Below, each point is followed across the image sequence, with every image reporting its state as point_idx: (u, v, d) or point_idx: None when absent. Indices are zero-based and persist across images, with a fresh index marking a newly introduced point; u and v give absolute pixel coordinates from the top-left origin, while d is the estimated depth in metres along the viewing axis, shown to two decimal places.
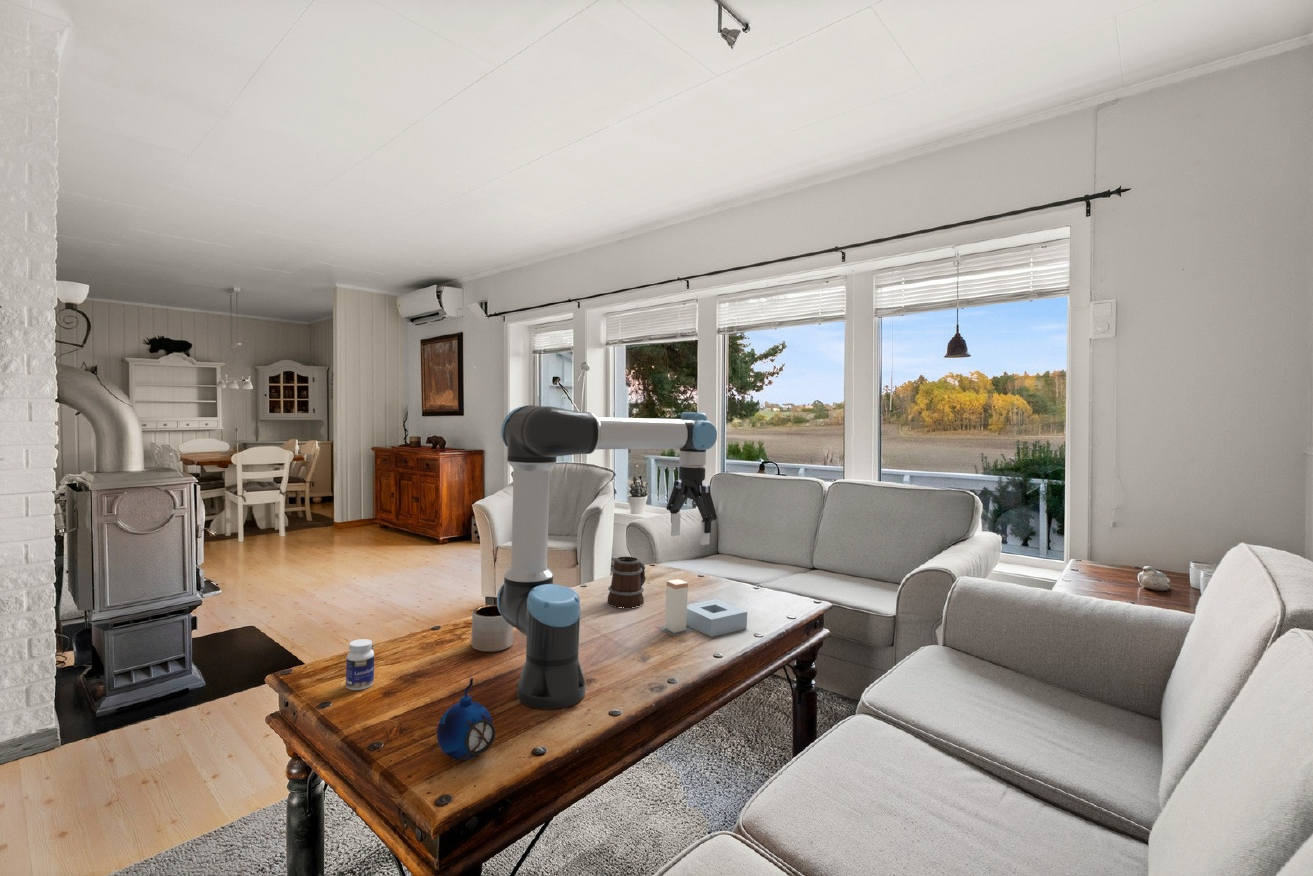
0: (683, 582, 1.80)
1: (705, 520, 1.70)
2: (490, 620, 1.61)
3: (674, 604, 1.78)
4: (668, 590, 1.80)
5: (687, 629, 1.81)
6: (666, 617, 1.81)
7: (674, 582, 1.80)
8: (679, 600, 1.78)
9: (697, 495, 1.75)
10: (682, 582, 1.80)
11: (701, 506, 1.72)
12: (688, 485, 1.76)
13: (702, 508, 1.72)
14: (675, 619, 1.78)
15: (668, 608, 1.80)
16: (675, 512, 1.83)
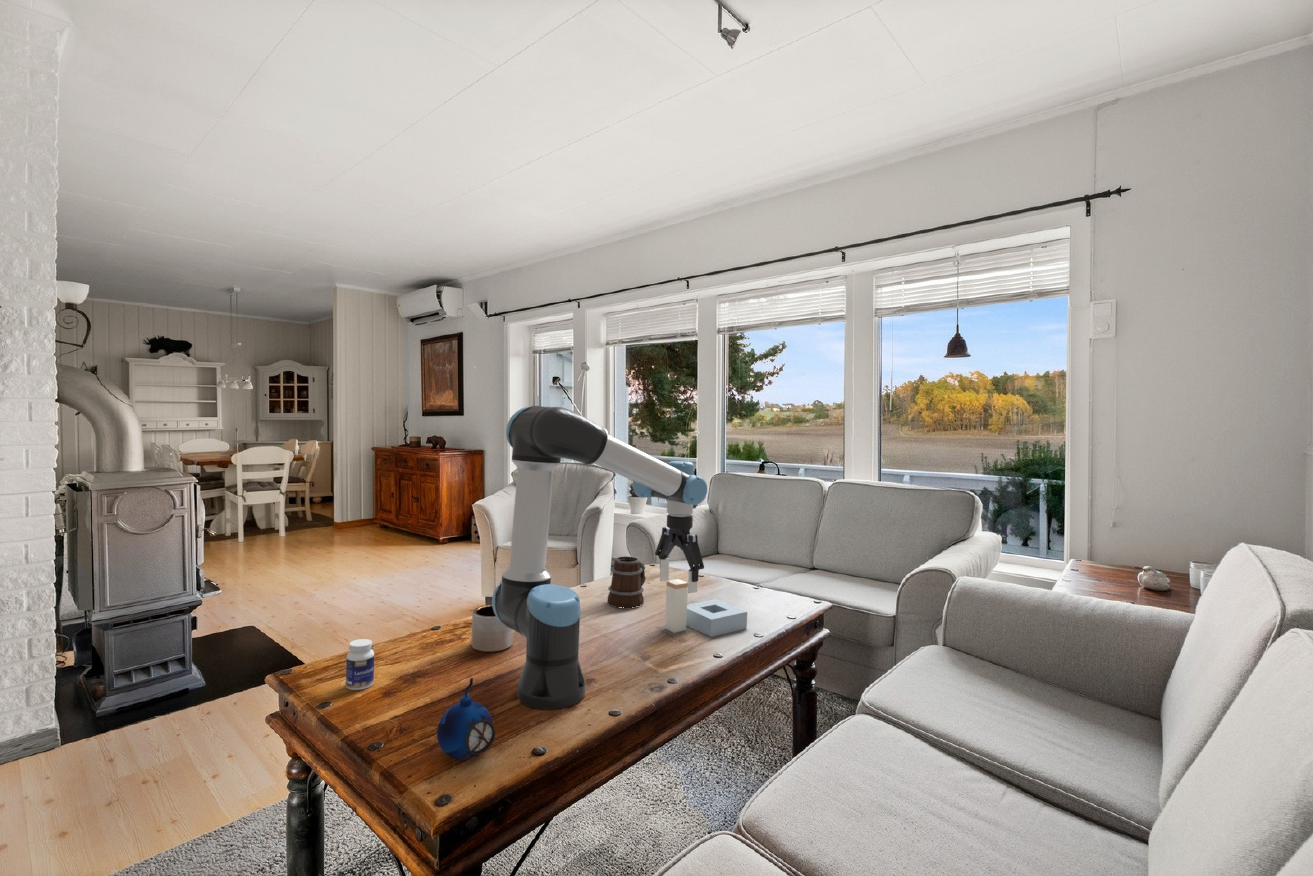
0: (683, 582, 1.80)
1: (692, 569, 1.73)
2: (490, 620, 1.61)
3: (674, 604, 1.78)
4: (668, 590, 1.80)
5: (687, 629, 1.81)
6: (666, 617, 1.81)
7: (674, 582, 1.80)
8: (679, 600, 1.78)
9: (685, 543, 1.78)
10: (682, 582, 1.80)
11: (688, 555, 1.75)
12: (676, 533, 1.79)
13: (689, 557, 1.75)
14: (675, 619, 1.78)
15: (668, 608, 1.80)
16: (664, 558, 1.86)
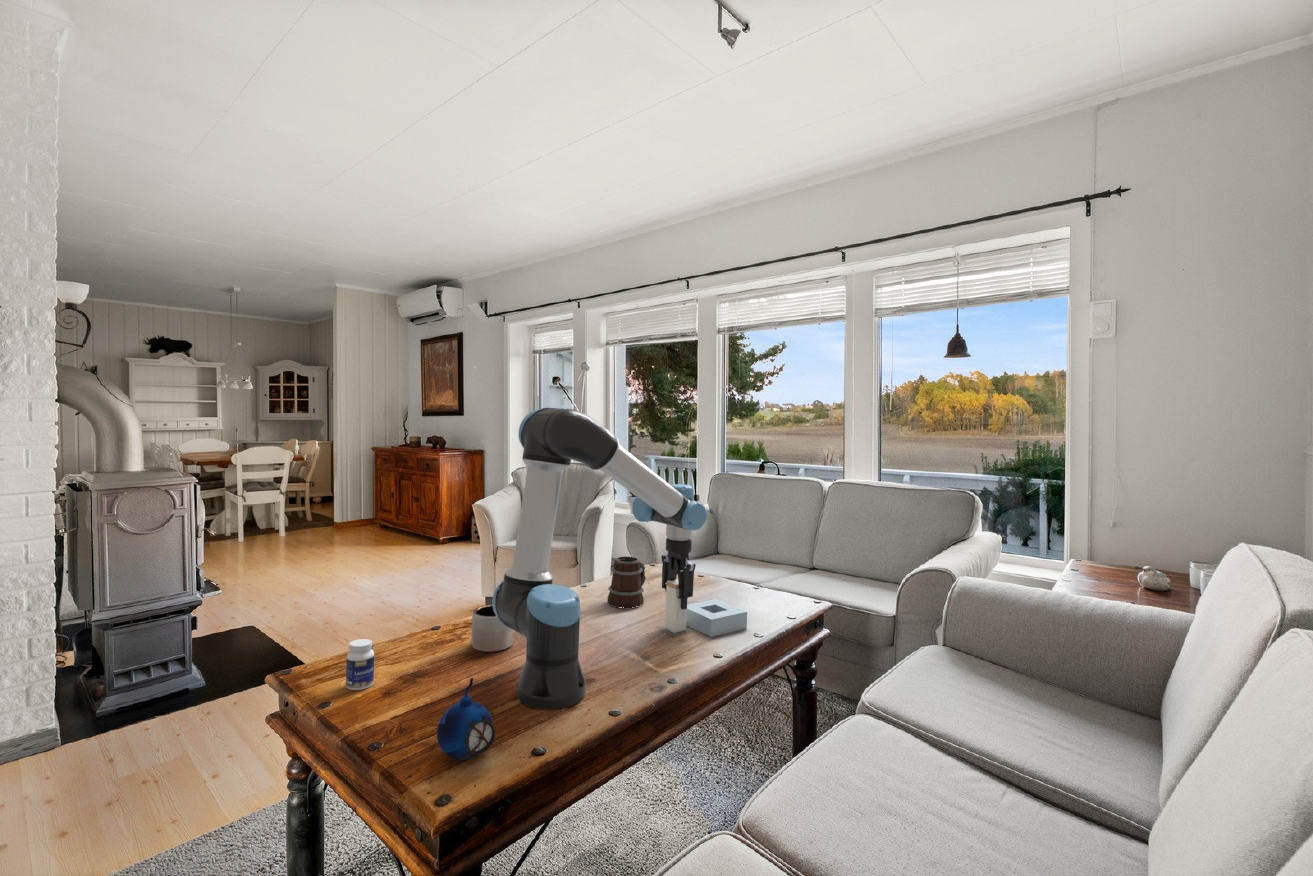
0: None
1: (681, 598, 1.77)
2: (490, 620, 1.61)
3: (674, 604, 1.78)
4: (668, 590, 1.80)
5: (687, 629, 1.81)
6: (666, 617, 1.81)
7: (674, 582, 1.80)
8: None
9: None
10: None
11: (682, 582, 1.77)
12: (675, 556, 1.79)
13: (682, 584, 1.77)
14: (675, 619, 1.78)
15: (668, 608, 1.80)
16: None
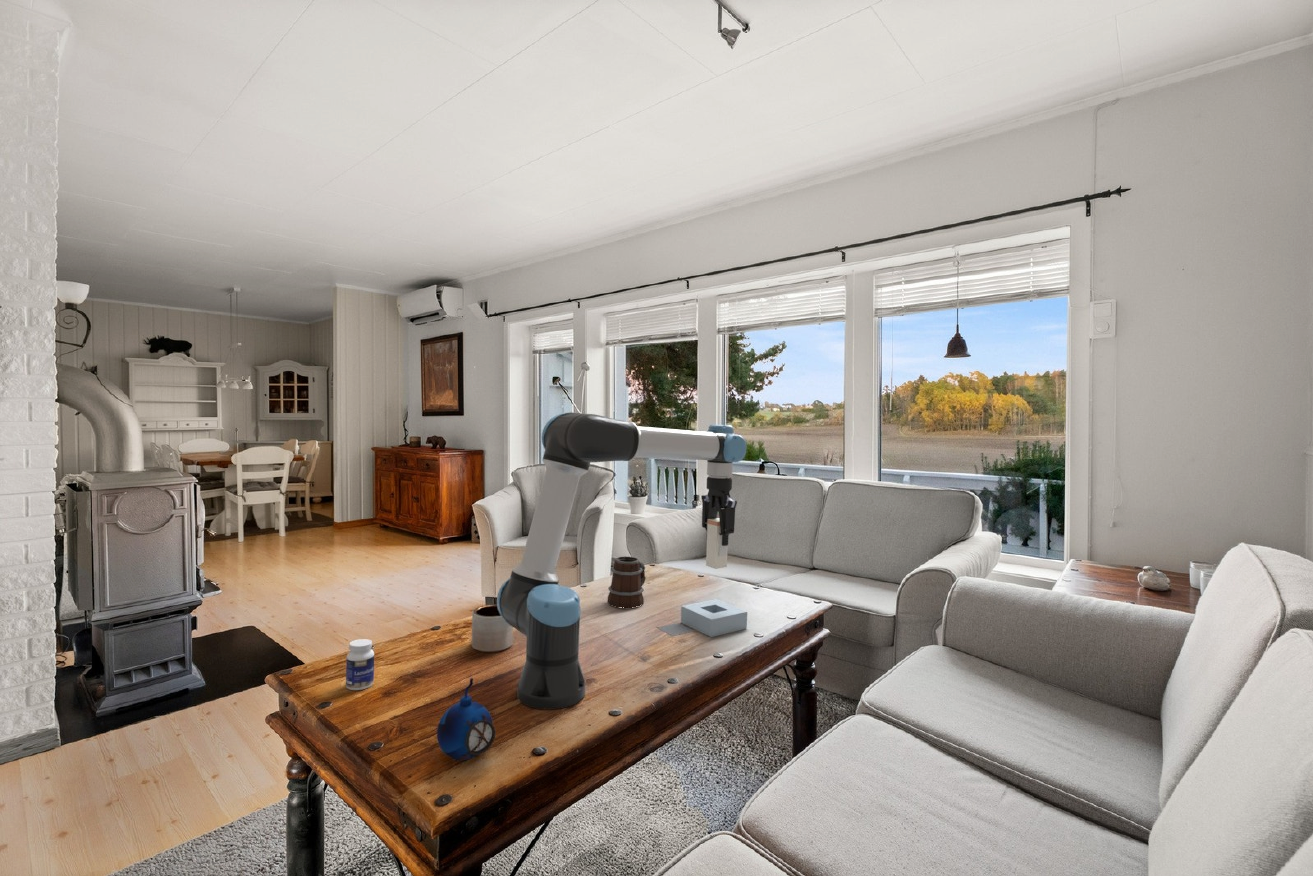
0: None
1: (722, 534, 1.80)
2: (490, 620, 1.61)
3: (715, 541, 1.82)
4: (709, 528, 1.84)
5: (687, 629, 1.81)
6: (707, 554, 1.85)
7: (715, 520, 1.83)
8: None
9: None
10: None
11: (723, 519, 1.81)
12: (715, 495, 1.83)
13: (723, 521, 1.81)
14: (717, 555, 1.82)
15: (709, 545, 1.84)
16: None
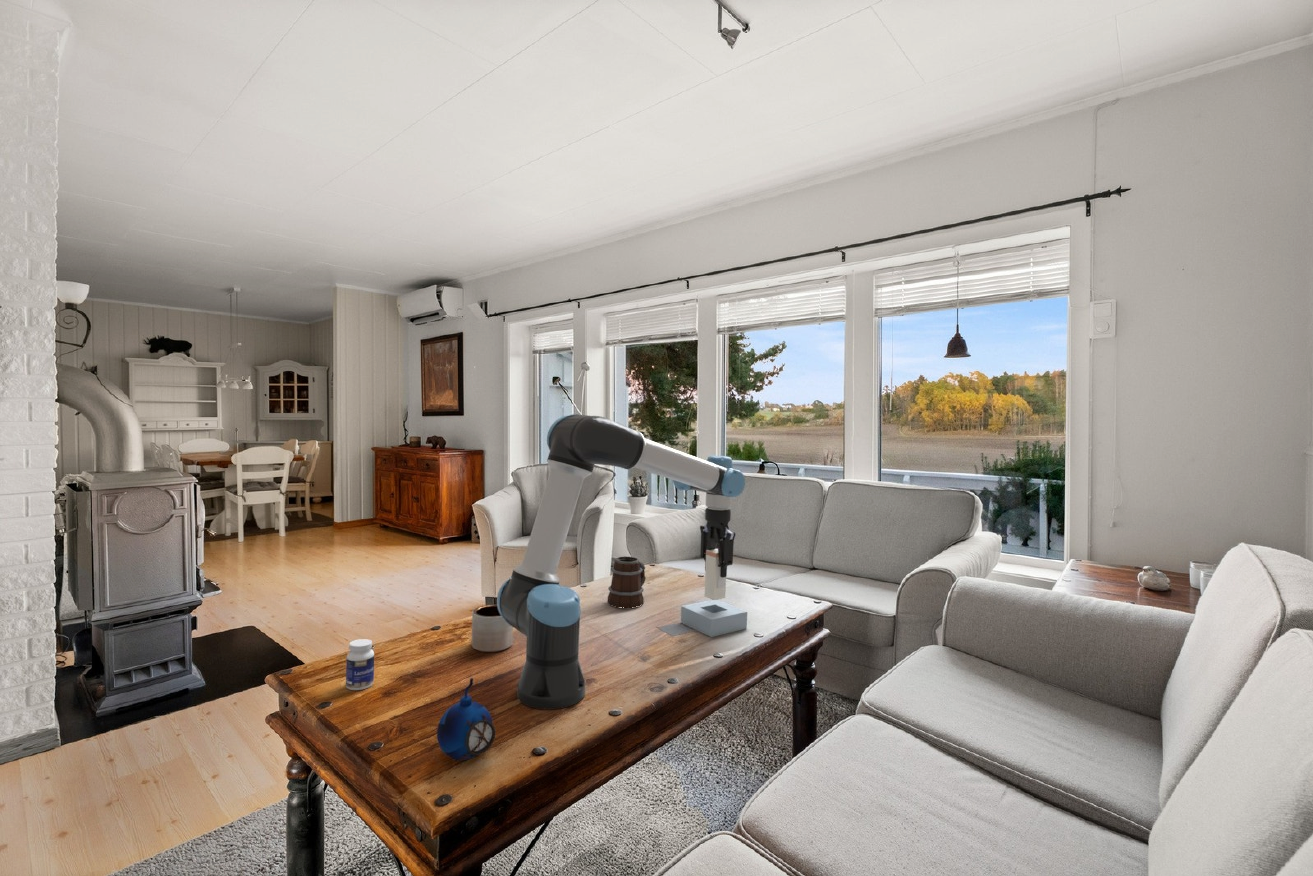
0: None
1: (721, 566, 1.81)
2: (490, 620, 1.61)
3: (714, 572, 1.82)
4: (708, 559, 1.84)
5: (687, 629, 1.81)
6: (706, 585, 1.85)
7: (714, 551, 1.84)
8: None
9: None
10: None
11: (721, 551, 1.81)
12: (714, 526, 1.84)
13: (722, 553, 1.81)
14: (715, 586, 1.82)
15: (707, 576, 1.85)
16: None
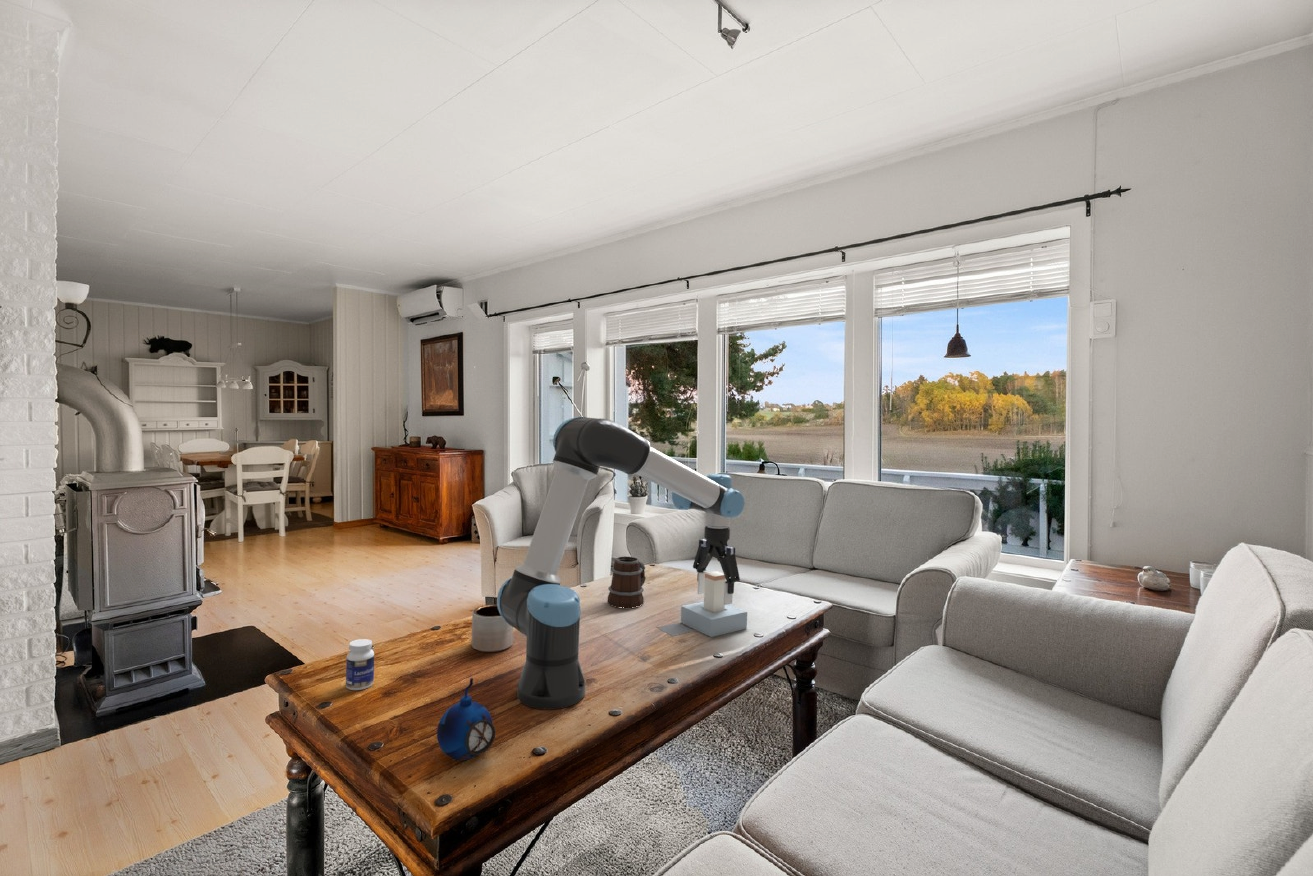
0: (721, 574, 1.84)
1: (728, 582, 1.78)
2: (490, 620, 1.61)
3: (713, 595, 1.82)
4: (706, 582, 1.85)
5: (687, 629, 1.81)
6: (704, 608, 1.85)
7: (712, 574, 1.84)
8: (717, 591, 1.83)
9: (722, 555, 1.82)
10: (720, 574, 1.84)
11: (725, 567, 1.80)
12: (713, 544, 1.84)
13: (726, 569, 1.80)
14: (714, 610, 1.82)
15: (706, 599, 1.85)
16: (702, 571, 1.90)
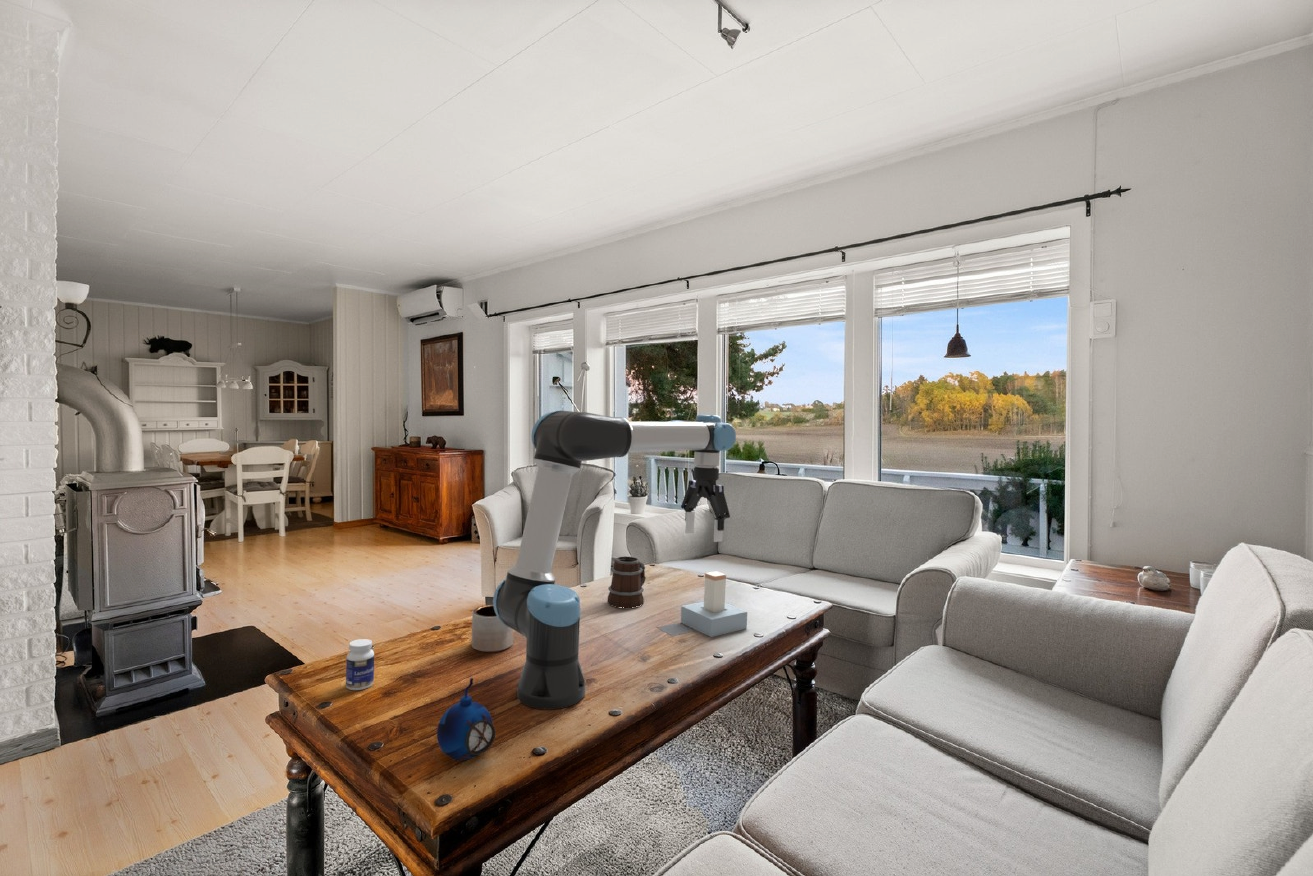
0: (721, 574, 1.84)
1: (718, 518, 1.78)
2: (490, 620, 1.61)
3: (713, 595, 1.82)
4: (706, 582, 1.85)
5: (687, 629, 1.81)
6: (704, 608, 1.85)
7: (712, 574, 1.84)
8: (717, 591, 1.83)
9: (711, 494, 1.82)
10: (720, 574, 1.84)
11: (715, 505, 1.80)
12: (702, 484, 1.84)
13: (716, 506, 1.79)
14: (714, 610, 1.82)
15: (706, 599, 1.85)
16: (689, 510, 1.91)
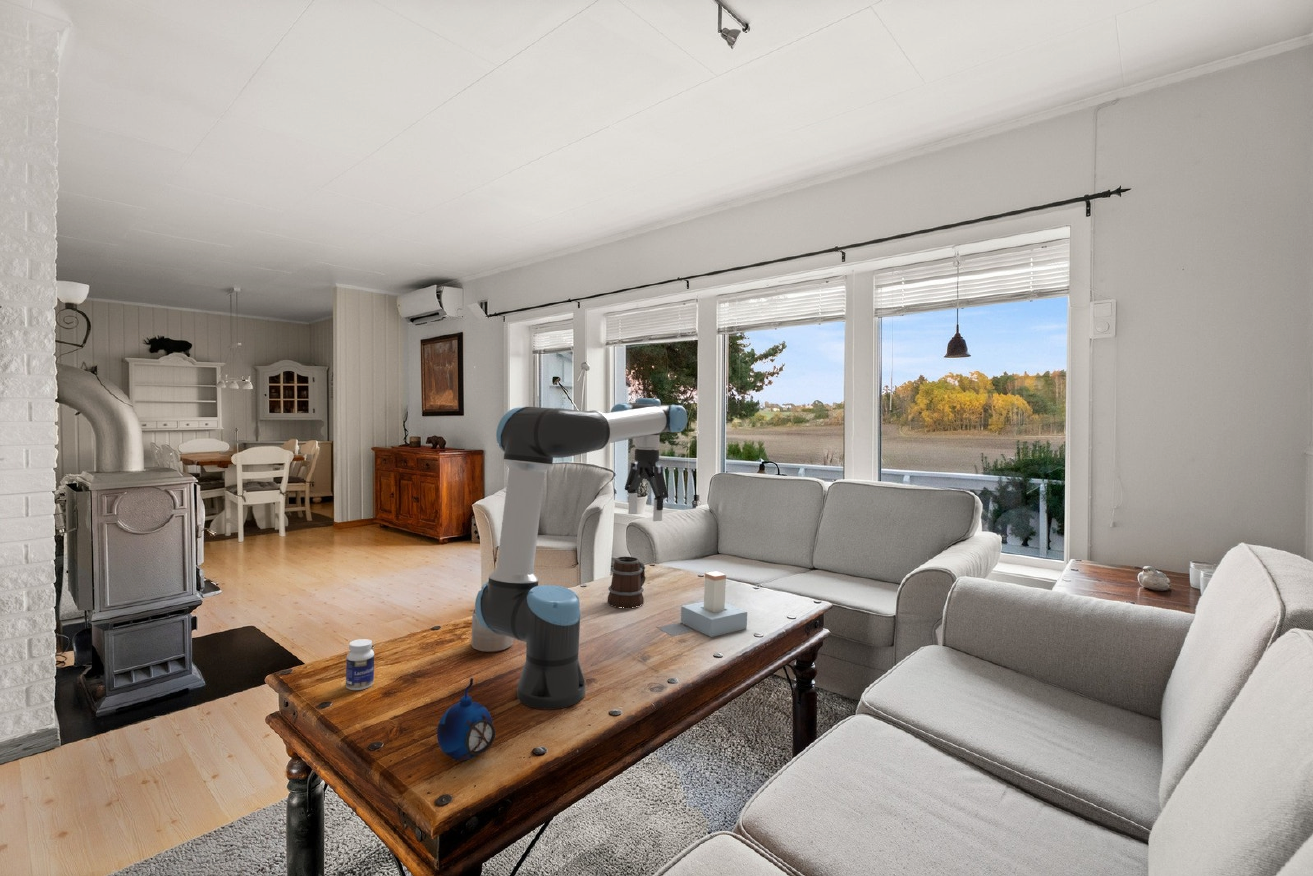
0: (721, 574, 1.84)
1: (657, 498, 1.83)
2: None
3: (713, 595, 1.82)
4: (706, 582, 1.85)
5: (687, 629, 1.81)
6: (704, 608, 1.85)
7: (712, 574, 1.84)
8: (717, 591, 1.83)
9: (651, 475, 1.88)
10: (720, 574, 1.84)
11: (654, 485, 1.85)
12: (643, 466, 1.89)
13: (655, 487, 1.85)
14: (714, 610, 1.82)
15: (706, 599, 1.85)
16: (632, 492, 1.96)
